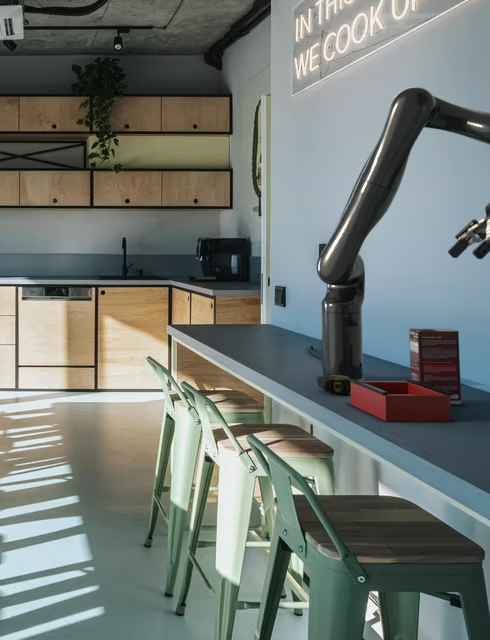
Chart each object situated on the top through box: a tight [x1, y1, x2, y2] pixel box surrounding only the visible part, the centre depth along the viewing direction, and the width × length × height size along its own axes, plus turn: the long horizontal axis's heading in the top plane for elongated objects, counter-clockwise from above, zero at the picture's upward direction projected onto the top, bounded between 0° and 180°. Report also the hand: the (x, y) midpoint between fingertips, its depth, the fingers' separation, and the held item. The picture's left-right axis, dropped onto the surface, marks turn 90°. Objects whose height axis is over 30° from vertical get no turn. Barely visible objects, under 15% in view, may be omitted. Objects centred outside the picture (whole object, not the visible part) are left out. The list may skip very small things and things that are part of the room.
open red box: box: [348, 378, 453, 422], centre depth 149 cm, size 15×14×6 cm
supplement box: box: [408, 327, 462, 405], centre depth 159 cm, size 9×5×16 cm, turn 85°
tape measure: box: [316, 375, 351, 395], centre depth 169 cm, size 7×7×4 cm
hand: (463, 255), depth 157 cm, fingers open, 8 cm apart
